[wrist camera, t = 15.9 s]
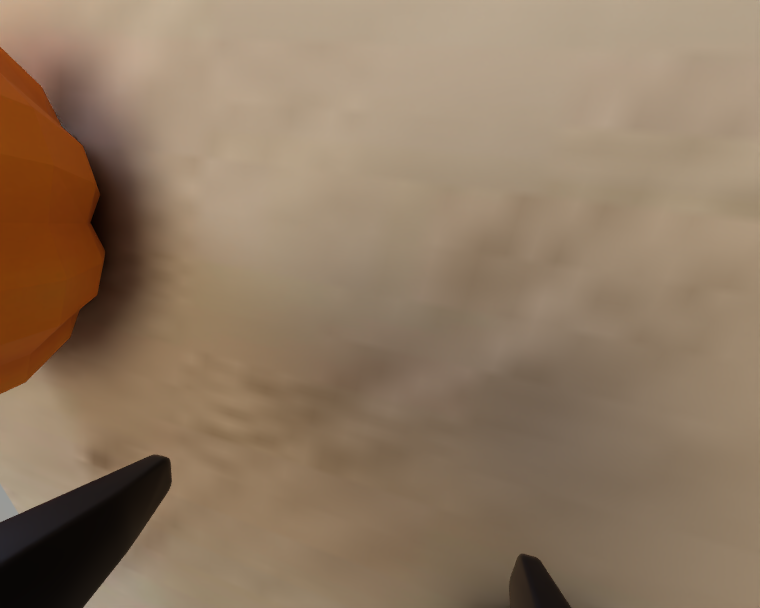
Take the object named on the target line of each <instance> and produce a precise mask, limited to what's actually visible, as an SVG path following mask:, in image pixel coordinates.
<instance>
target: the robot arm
mask: <svg viewBox="0 0 760 608" xmlns="http://www.w3.org/2000/svg"><path fill="white" fill-rule="evenodd" d="M171 482H172V479H171V462H170V459H169V458H167V457H164V456H160V455H151V456H149V457H146V458H144V459H142V460H140V461H137V462H135V463H133V464H131V465H128V466H126V467H124V468H122V469H119V470H117V471H115V472H113V473H110V474H108V475H106V476H104V477H101V478H99V479H97V480H95V481H92V482H90V483H88V484H86V485H83V486H81V487H79V488H77V489H74V490H72V491H70V492H68V493H65V494H63V495H61V496H59V497H56V498H54V499H52V500H50V501H47V502H45V503H43V504H41V505H38V506H36V507H34V508H32V509H29V510H27V511H25V512H23V513H20V514H18V515H16V516H14V517H11V518H9V519H7V520H5V521H3V522H0V608H83V607H84V606H85V604H86V603H87V602H88V601H89V599H90V598H91V597H92V596H93V594H94V593H95V592H96V591H97V589H98V588H99V587H100V586H101V584H102V583H103V582H104V581H105V579H106V578H107V577H108V576H109V574H110V573H111V572H112V571H113V569H114V568H115V567H116V566H117V564H118V563H119V562H120V561H121V559H122V558H123V557H124V555H125V554H126V553H127V551H128V550H129V549H130V547H131V546H132V544H133V543H134V542H135V540H136V539H137V537H138V536H139V534H140V533H141V531H142V530H143V528H144V527H145V525H146V524H147V522H148V521H149V519H150V518H151V516H152V515H153V513H154V512H155V510H156V509H157V507H158V506H159V504H160V503H161V501H162V500H163V499H164V497H165V496H166V494H167V492H168V491H169V489H170V486H171ZM509 592H510V608H571V607H570V605H569V604H568V602H567V601H566V599H565V598H564V596H563V595H562V593H561V591H560V590H559V588H558V587H557V585H556V584H555V582H554V581H553V579H552V578H551V576H550V575H549V573H548V572H547V570H546V568H545V567H544V565H543V564H542V562H541V561H540V560H539V559H538V558H536V557H533V556H529V555H526V554H520V555H519V556H518V558H517V561H516V564H515V566H514V569H513V572H512V574H511V577H510V584H509Z"/></svg>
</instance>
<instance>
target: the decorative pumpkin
mask: <svg viewBox="0 0 760 608" xmlns="http://www.w3.org/2000/svg"><path fill="white" fill-rule="evenodd" d="M99 196H100V193H99V190H98V187H97V184H96V181H95V178H94V175H93V173H92V170H91V167H90V164H89V161H88V159H87V156H86V153H85V150H84V148H83V146H82V145H81V144H80V143H79V142H78V141H77V140H76V139H75V138H74V137H72V136H71V135H70V134H69V133H68V132H67V131H66V130H65V129H64V128H62V127H61V126H60V122H59V120H58V118H57V116H56V114H55V112H54V110H53V108H52V106H51V104H50V102H49V101H48V99H47V97H46V95H45V93H44V91H43V89H42V87H41V86H40V85H39V84H38V83H37V82H36V81H35V80H34V79H33V78H32V77H31V76H30V75H29V74H28V73H27V72H26V71H25V70H24V69H23V68H22V67H21V66H20V65H19V64H17V63H16V62H15V61H14V60H13V59H12V58H11V57H10V56H9V55H8V54H7V53H6V52H5V51H4V50H3V49H2V48H1V47H0V394H1V393H3V392H6V391H8V390H10V389H12V388H14V387H16V386H18V385H21V384H23V383H25V382H26V381H27V380H28V379H29V378H30V377H31V376H32V375H33V374H34V373H35V372H36V371H37V370H38V369H39V368H40V367H41V366H42V365H43V364H44V363H45V362H46V361H47V360H48V359H49V358H50V357H51V356H52V355H53V354H54V353H55V352H56V351H57V350H58V349H59V348H60V347H61V346H62V345H63V344H64V343H65V342H66V341H67V340H68V339H69V338H70V337H71V334H72V331H73V328H74V325H75V322H76V319H77V316H78V313H79V310H80V309H81V308H82V307H83V306H84V305H86V304H87V303H88V302H89V301H90V300H92V299H93V298H94V297H95V296H97V294H98V288H99V283H100V278H101V273H102V267H103V262H104V256H105V250H104V248H103V246H102V244H101V242H100V240H99V238H98V236H97V234H96V233H95V231H94V229H93V227H92V225H91V223H90V222H91V219H92V216H93V213H94V211H95V208H96V205H97V202H98V199H99Z"/></svg>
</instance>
